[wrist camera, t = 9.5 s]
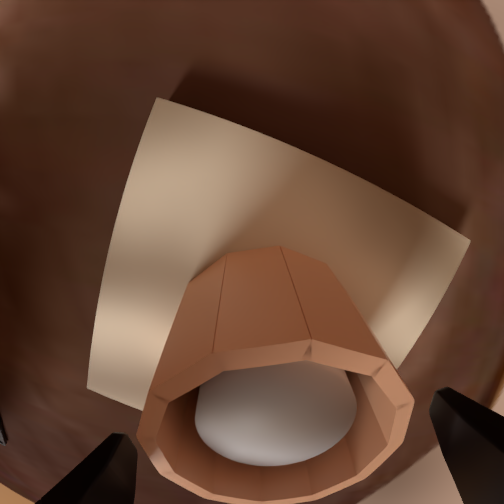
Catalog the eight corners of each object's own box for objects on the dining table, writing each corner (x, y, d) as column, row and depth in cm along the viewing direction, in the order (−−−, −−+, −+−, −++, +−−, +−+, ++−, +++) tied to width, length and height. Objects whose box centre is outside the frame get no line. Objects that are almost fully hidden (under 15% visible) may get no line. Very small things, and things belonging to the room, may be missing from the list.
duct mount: (323, 435, 17) (344, 521, 11) (96, 371, 15) (50, 458, 9) (453, 231, 13) (547, 284, 7) (166, 102, 11) (95, 66, 5)
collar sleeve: (349, 381, 14) (388, 482, 8) (199, 402, 14) (185, 508, 8) (349, 235, 12) (431, 313, 6) (158, 263, 12) (95, 359, 6)
